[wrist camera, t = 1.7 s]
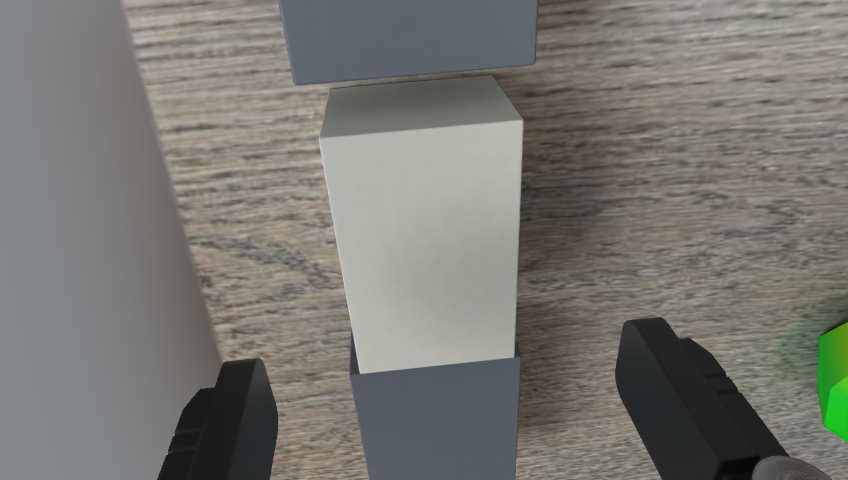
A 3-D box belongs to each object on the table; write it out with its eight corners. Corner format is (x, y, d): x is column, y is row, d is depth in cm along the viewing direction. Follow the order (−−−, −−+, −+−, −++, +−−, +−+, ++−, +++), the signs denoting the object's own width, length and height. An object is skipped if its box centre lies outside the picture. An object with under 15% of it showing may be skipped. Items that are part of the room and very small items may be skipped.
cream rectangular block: (328, 88, 16) (318, 138, 13) (492, 74, 17) (524, 119, 13) (361, 296, 21) (359, 374, 17) (491, 283, 21) (514, 358, 17)
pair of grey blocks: (238, -331, 11) (201, -395, 9) (518, -346, 12) (559, -413, 9) (374, 448, 25) (374, 508, 23) (500, 433, 26) (515, 492, 23)
